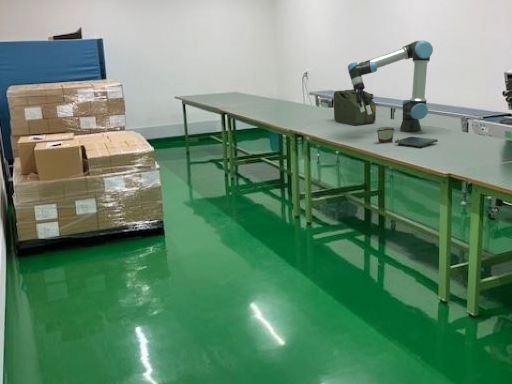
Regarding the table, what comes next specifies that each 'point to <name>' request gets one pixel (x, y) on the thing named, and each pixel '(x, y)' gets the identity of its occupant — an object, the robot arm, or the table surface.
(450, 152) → the table surface
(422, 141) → the levelling stand
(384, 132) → the food container
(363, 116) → the fuel can
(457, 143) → the table surface
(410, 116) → the robot arm
